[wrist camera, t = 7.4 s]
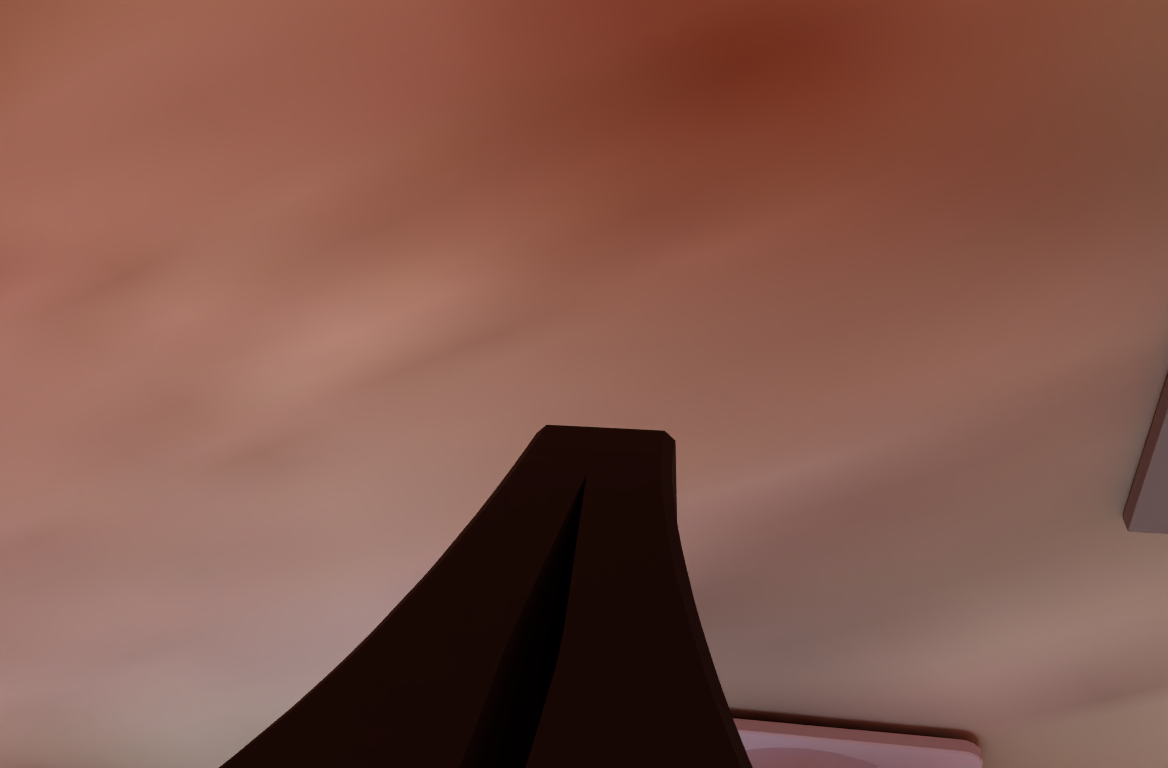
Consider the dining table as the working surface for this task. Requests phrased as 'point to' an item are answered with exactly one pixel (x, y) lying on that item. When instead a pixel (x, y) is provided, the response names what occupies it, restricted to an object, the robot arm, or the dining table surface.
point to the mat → (1151, 478)
